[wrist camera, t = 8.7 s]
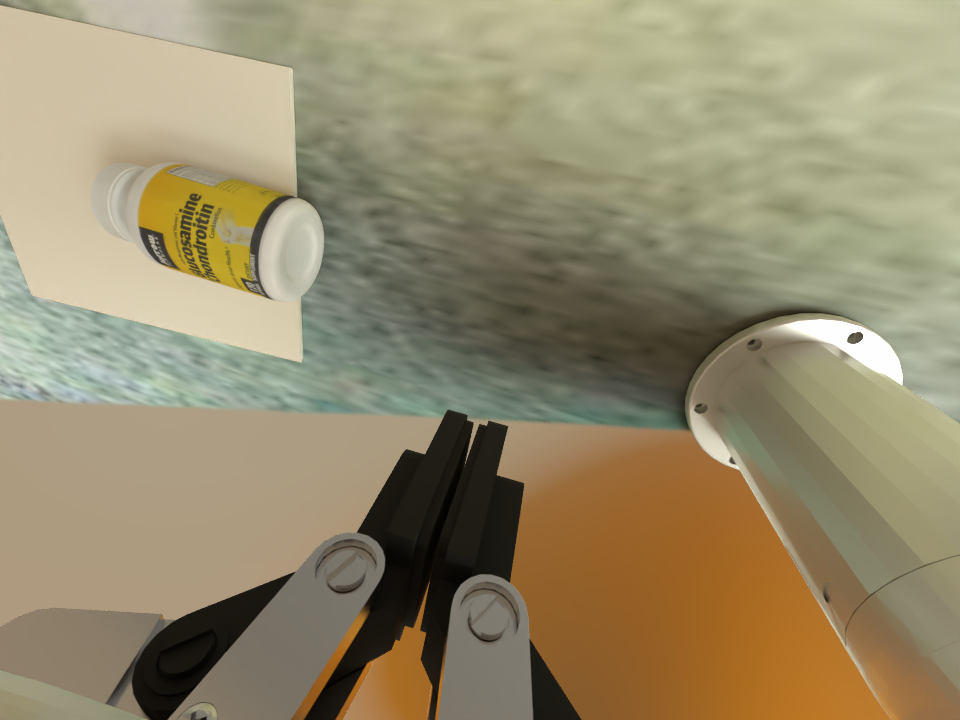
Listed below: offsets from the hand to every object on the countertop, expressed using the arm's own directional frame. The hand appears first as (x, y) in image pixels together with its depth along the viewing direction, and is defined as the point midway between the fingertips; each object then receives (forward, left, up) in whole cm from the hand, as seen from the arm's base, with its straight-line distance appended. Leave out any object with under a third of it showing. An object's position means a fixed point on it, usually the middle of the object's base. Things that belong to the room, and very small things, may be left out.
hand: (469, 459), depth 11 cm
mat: (+20, +19, -18) cm, 33 cm away
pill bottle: (+9, +9, -15) cm, 20 cm away
